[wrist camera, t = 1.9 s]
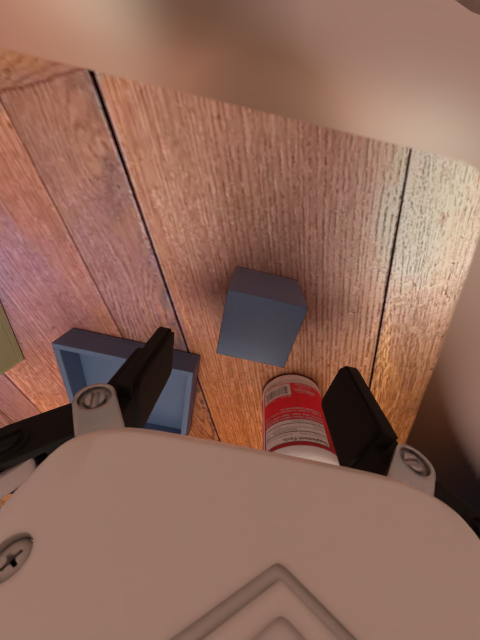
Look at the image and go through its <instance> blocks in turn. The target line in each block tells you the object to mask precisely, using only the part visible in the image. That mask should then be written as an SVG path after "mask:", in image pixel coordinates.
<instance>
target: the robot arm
mask: <svg viewBox="0 0 480 640" xmlns="http://www.w3.org/2000/svg"><path fill="white" fill-rule="evenodd" d="M173 346H174V332H171V329H169V328H164V327H159V328H158V329H157V331H156V332H155V333H154V334H153V336H152V337H151V338H150V339H149V341H148V342H147V343H146V344H145V346H144V347H143V348H141V347H138V348H136V349H135V351H134V352H133V353H132V354H131V355H130V357H129V358H128V359H127V360H126V361H125V362H124V364H123V365H122V366H121V367H120V368H119V370H118V371H117V372H116V373H115V374H114V376H113V377H112V378H111V379H110V380H109V382H108V383H107V384H106V383H96V384H91V385H89V386H86V387H84V388H83V389H81V390H80V391H79V392H77V393H76V394H75V396H74V398H73V400H72V403H70V404H67V405H64V406H61V407H58V408H56V409H53V410H50V411H47V412H44V413H41V414H39V415H36V416H33V417H30V418H27V419H24V420H21V421H19V422H16V423H13V424H10V425H7V426H5V427H3V428H0V500H1V499H2V498H4V497H5V496H7V495H8V494H12V493H13V494H12V495H11V497H10V498H9V499H8V500H7V501H6V502H5V504H4V505H3V506H2V507H1V508H0V640H480V514H479V513H477V512H476V511H475V510H474V509H472V508H471V507H470V506H469V505H467V504H466V503H465V502H464V501H462V500H461V499H460V498H458V497H457V496H456V495H455V494H453V493H452V492H451V491H449V490H448V489H447V488H446V487H445V486H443V485H442V484H441V483H439V482H438V481H437V480H436V479H435V477H436V476H435V471H434V468H433V466H432V465H431V463H430V462H429V460H428V459H427V458H426V457H425V456H424V455H423V454H422V453H420V452H419V451H418V450H417V449H415V448H413V447H412V446H409V445H407V444H398V443H397V441H396V439H397V438H398V437H397V435H396V434H395V432H394V430H393V429H392V427H391V425H390V423H389V422H388V420H387V418H386V417H385V415H384V413H383V412H382V410H381V408H380V407H379V405H378V403H377V401H376V400H375V398H374V396H373V395H372V393H371V391H370V390H369V388H368V386H367V385H366V383H365V381H364V379H363V378H362V376H361V374H360V373H359V371H358V370H357V369H356V368H353V367H348V366H345V367H343V368H341V369H340V370H339V371H338V373H337V375H336V377H335V378H334V380H333V382H332V384H331V385H330V387H329V389H328V391H327V392H326V394H325V396H324V398H323V399H322V402H321V406H322V410H323V413H324V416H325V419H326V423H327V426H328V429H329V432H330V436H331V439H332V442H333V445H334V449H335V452H336V455H337V458H338V462H339V465H340V466H339V465H334V464H329V463H324V462H319V461H314V460H309V459H304V458H300V457H295V456H290V455H284V454H279V453H274V452H269V451H264V450H259V449H254V448H249V447H244V446H239V445H234V444H228V443H223V442H218V441H213V440H208V439H202V438H197V437H192V436H187V435H181V434H175V433H169V432H164V431H158V430H151V429H143V428H144V426H145V424H146V422H147V420H148V418H149V416H150V414H151V412H152V410H153V408H154V406H155V404H156V402H157V400H158V398H159V397H160V395H161V393H162V391H163V389H164V387H165V385H166V383H167V381H168V379H169V377H170V375H171V372H172V363H173ZM31 539H32V540H33V541H32V540H31Z"/></svg>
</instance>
